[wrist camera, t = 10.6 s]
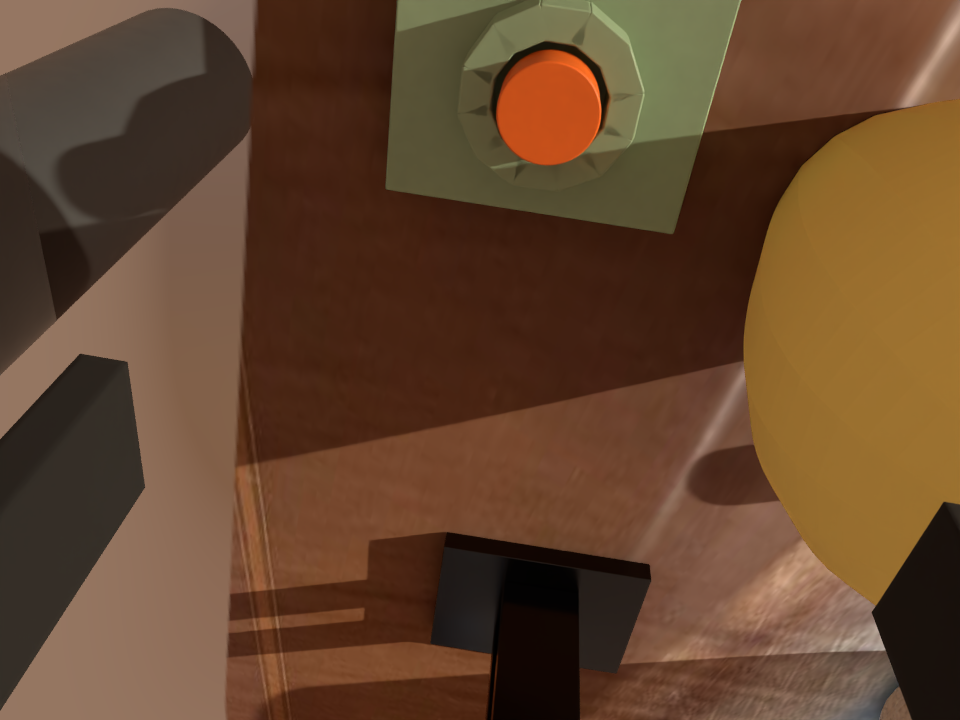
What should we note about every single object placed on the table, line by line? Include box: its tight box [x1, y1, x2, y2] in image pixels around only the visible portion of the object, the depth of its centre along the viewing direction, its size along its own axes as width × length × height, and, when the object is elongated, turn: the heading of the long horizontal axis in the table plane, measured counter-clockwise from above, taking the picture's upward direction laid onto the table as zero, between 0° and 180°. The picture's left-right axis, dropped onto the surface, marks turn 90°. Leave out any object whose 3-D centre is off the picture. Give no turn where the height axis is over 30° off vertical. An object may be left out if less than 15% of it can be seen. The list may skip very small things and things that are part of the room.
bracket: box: [430, 532, 651, 720], centre depth 44 cm, size 12×9×14 cm
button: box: [496, 49, 601, 165], centre depth 28 cm, size 4×4×2 cm
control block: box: [385, 0, 741, 234], centre depth 30 cm, size 12×10×4 cm
